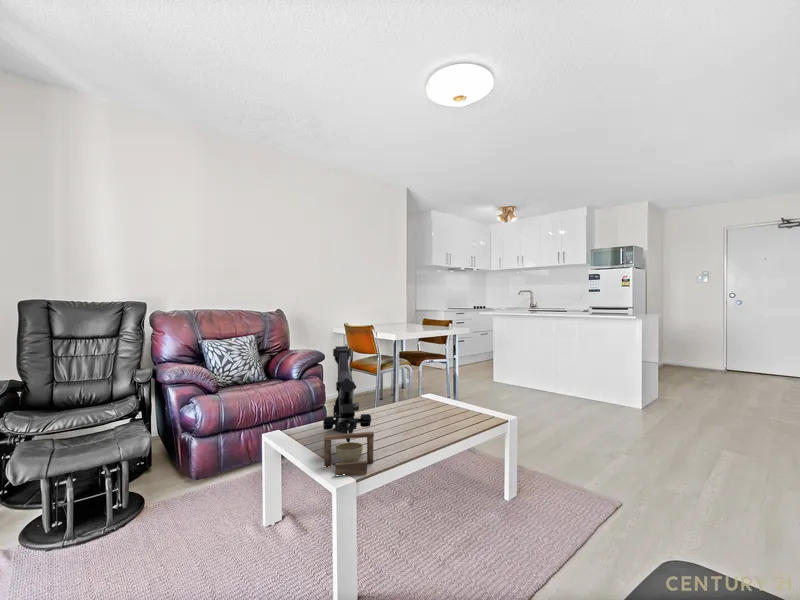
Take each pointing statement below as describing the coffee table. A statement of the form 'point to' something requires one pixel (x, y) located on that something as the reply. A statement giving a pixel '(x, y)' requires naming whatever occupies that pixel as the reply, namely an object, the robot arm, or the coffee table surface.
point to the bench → (349, 467)
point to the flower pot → (349, 452)
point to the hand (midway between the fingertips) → (348, 441)
